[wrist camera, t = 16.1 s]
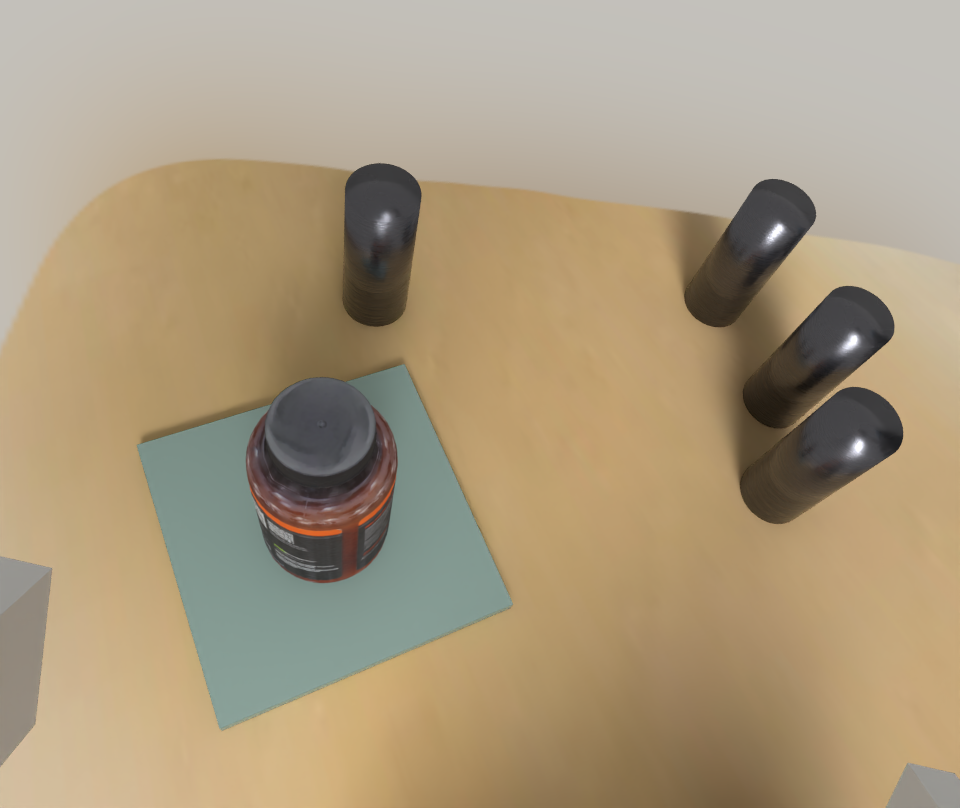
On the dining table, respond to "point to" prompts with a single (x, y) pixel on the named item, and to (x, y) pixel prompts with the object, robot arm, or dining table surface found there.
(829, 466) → the spacer posts
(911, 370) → the dining table surface
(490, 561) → the board
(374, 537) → the supplement bottle
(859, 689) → the dining table surface
